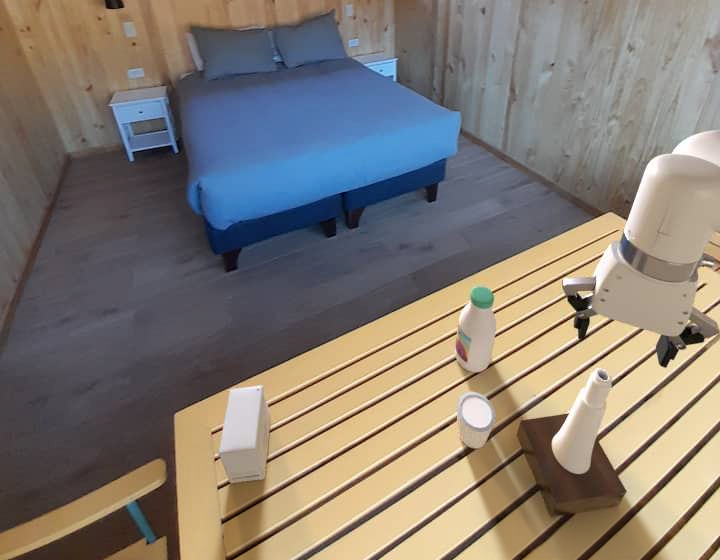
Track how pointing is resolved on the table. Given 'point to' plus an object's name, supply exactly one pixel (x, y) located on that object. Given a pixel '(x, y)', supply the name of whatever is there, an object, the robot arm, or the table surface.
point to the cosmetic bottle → (583, 424)
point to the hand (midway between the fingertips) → (619, 343)
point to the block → (561, 485)
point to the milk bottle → (476, 331)
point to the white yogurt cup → (474, 419)
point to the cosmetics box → (245, 435)
